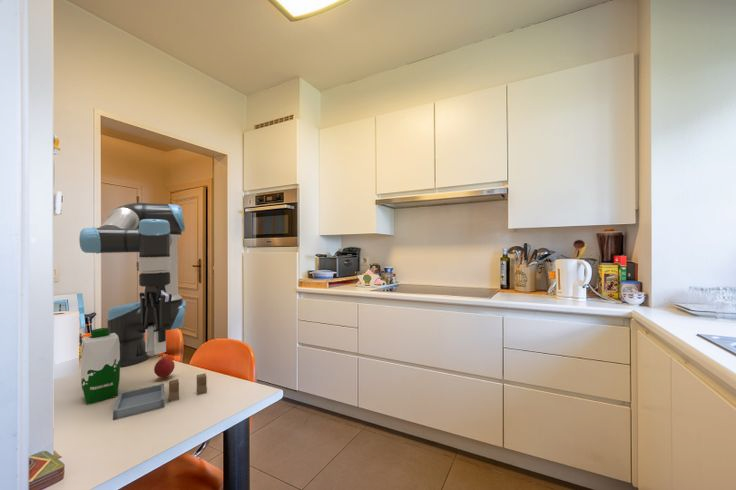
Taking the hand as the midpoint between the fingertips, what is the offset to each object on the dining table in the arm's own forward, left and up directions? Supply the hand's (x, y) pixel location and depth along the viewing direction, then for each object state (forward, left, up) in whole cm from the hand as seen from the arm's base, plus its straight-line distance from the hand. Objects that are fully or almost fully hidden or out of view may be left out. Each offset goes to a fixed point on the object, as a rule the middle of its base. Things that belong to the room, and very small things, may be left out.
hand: (155, 351), depth 90 cm
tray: (0, -4, -14) cm, 15 cm away
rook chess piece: (0, 0, -1) cm, 1 cm away
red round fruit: (-18, +2, -14) cm, 23 cm away
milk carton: (-13, -14, -14) cm, 24 cm away
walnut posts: (+2, +8, -14) cm, 16 cm away
